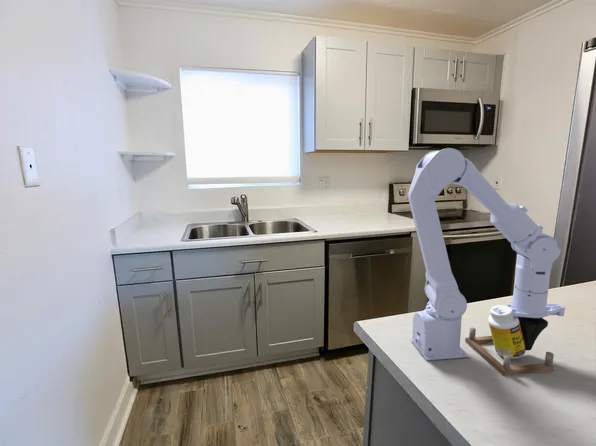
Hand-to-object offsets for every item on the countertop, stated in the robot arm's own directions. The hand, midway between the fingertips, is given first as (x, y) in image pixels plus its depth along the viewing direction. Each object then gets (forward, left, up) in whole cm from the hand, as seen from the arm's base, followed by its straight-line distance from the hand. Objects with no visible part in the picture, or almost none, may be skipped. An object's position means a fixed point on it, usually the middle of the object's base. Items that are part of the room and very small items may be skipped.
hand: (524, 347), depth 67 cm
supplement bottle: (-3, 0, -1) cm, 3 cm away
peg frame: (-4, 0, -1) cm, 4 cm away
